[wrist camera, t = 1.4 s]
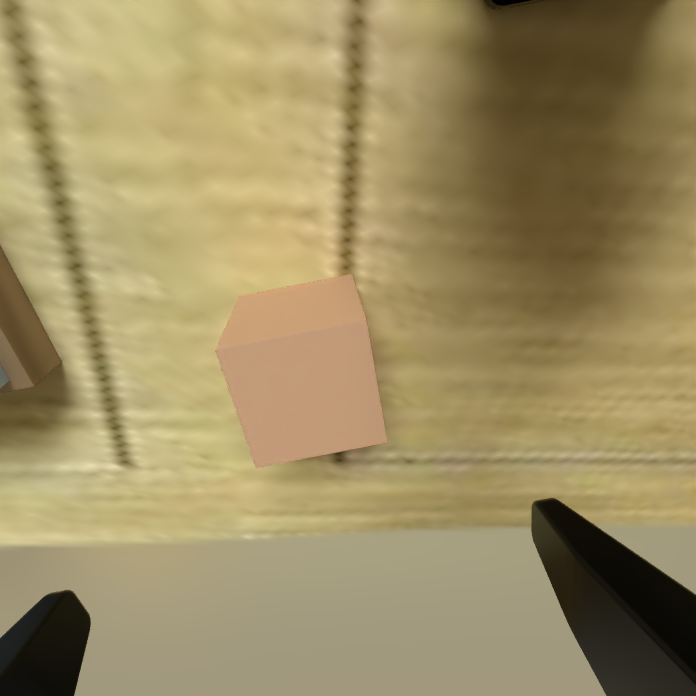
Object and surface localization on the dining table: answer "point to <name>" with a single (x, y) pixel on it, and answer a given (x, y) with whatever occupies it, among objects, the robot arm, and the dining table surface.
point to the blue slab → (3, 377)
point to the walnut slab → (21, 335)
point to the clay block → (302, 371)
